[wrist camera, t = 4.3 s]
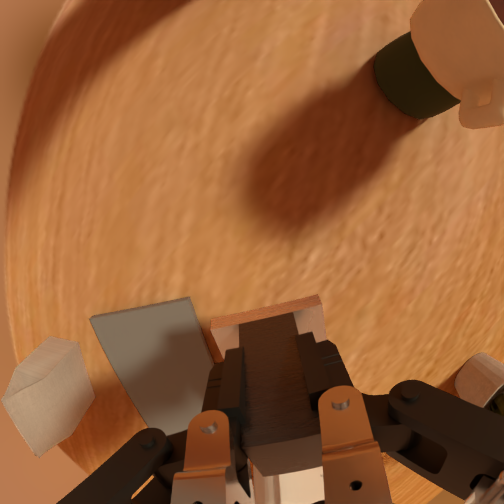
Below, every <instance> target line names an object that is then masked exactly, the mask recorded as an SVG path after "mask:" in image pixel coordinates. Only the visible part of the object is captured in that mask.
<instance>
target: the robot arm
mask: <svg viewBox="0 0 504 504" xmlns="http://www.w3.org/2000/svg"><path fill="white" fill-rule="evenodd" d="M295 338H296V342H297V347H298V351H299V355H300V360H301V364H302V368H303V373H304V377H305V382H306V386H307V391H308V395H309V400H310V404H311V409H312V411H314V410H318V413H319V418H320V428H321V439H322V465H323V481H324V500H321V501H317V502H315V503H312V504H394V503H392V499H391V495H390V490H389V485H388V481H387V476H386V472H385V468H384V463H383V459H382V455H381V452H386V453H387V454H388V455H389V456H391V457H392V458H394V459H395V460H397V461H398V462H400V463H401V464H403V465H404V466H406V467H408V468H409V469H411V470H412V471H414V472H416V473H417V474H419V475H421V476H422V477H424V478H426V479H427V480H429V481H431V482H432V483H434V484H436V485H438V486H439V487H441V488H443V489H445V490H446V491H448V492H450V493H452V494H454V495H456V496H457V497H459V498H461V499H463V500H465V503H464V504H504V416H501V415H499V414H496V413H494V412H491V411H489V410H487V409H484V408H482V407H479V406H477V405H474V404H472V403H470V402H467V401H465V400H463V399H460V398H458V397H456V396H453V395H451V394H449V393H447V392H444V391H442V390H440V389H437V388H435V387H433V386H431V385H429V384H426V383H424V382H422V381H418V380H406V381H403V382H400V383H398V384H396V385H395V386H394V387H393V388H392V389H391V391H390V392H389V394H385V395H367V394H363V393H361V392H360V391H359V390H358V389H356V388H355V387H354V386H353V384H352V381H351V379H350V377H349V374H348V372H347V370H346V368H345V365H344V363H343V361H342V358H341V356H340V355H339V352H338V349H337V347H336V345H335V344H333V343H332V342H330V341H329V340H325V341H321V342H317V343H316V340H315V338H314V335H313V332H312V331H311V332H307V333H303V334H299V335H295ZM206 388H207V389H206V391H205V396H204V401H203V405H202V410H201V413H200V414H198V415H196V416H195V417H194V418H193V419H192V420H191V421H190V423H189V425H188V429H186V430H184V431H181V432H178V433H174V434H171V435H167V436H166V434H165V433H164V432H163V431H162V430H161V429H158V428H146V429H143V430H141V431H139V432H138V433H136V434H135V435H134V436H133V437H132V438H131V439H130V440H129V441H128V442H127V443H125V444H124V445H123V446H122V447H121V448H120V449H119V450H118V451H117V452H116V453H115V454H113V455H112V456H111V457H110V458H109V459H108V460H107V461H106V462H104V463H103V464H102V465H101V466H100V467H99V468H98V469H97V470H95V471H94V472H93V473H92V474H91V475H90V476H89V477H88V478H86V479H85V480H84V481H83V482H82V483H80V484H79V485H78V486H77V487H76V488H75V489H73V490H72V491H71V492H70V493H69V494H67V495H66V496H65V497H64V498H63V499H61V500H60V501H59V502H58V503H56V504H255V499H254V492H253V484H252V475H251V467H250V461H249V459H248V456H247V455H246V454H245V452H244V451H243V449H242V448H241V424H244V423H246V409H245V376H244V347H238V348H232V349H227V350H226V351H225V358H224V362H220V363H216V364H215V365H214V366H213V368H212V369H211V370H210V372H209V376H208V382H207V386H206ZM152 475H153V476H154V478H153V479H152V480H151V481H150V482H149V483H148V484H147V485H146V486H145V487H144V488H143V489H142V490H141V491H140V492H139V493H138V494H137V495H136V496H135V497H134V498H133V499H131V497H132V495H133V494H134V493H135V492H136V491H137V490H138V489H139V488H140V487H141V486H142V485H143V484H144V483H145V482H146V481H147V480H148V479H149V478H150V477H151V476H152Z"/></svg>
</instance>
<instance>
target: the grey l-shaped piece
mask: <svg viewBox="0 0 504 504" xmlns="http://www.w3.org/2000/svg"><path fill="white" fill-rule="evenodd" d="M210 330H211V332H212V335H213V337H214V339H215V341H216V344H217V346H218V348H219V350H220V352H221V355H222V357H223V359H224V358H225V351H226V350H227V349H232V348H238V347H244V376H245V409H246V423H244V424H241V448H242V449H243V451H244V452H245V454H246V455H247V456H248V458H249V459H250V460H251V462H252V463H253V464H254V466H255V467H256V468H257V470H258V471H259V472H260V473H261V475H262V476H263V477H267V476H274V475H281V474H287V473H292V472H298V471H303V470H308V469H312V468H317V467H321V466H323V465H322V439H321V428H320V418H319V413H318V410H314V411H312V409H311V404H310V400H309V395H308V391H307V386H306V382H305V377H304V373H303V368H302V364H301V360H300V355H299V351H298V347H297V342H296V338H295V335H299V334H303V333H307V332H311V331H312V332H313V335H314V338H315V340H316V343H317V342H321V341H325V340H327V339H326V331H325V323H324V315H323V307H322V303H321V301H320V298H319V296H318V294H316V295H313V296H309V297H305V298H301V299H297V300H293V301H289V302H284V303H280V304H276V305H272V306H268V307H263V308H259V309H255V310H250V311H246V312H241V313H236V314H232V315H227V316H222V317H218V318H213V319H211V328H210Z"/></svg>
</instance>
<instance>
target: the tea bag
mask: <svg viewBox="0 0 504 504" xmlns="http://www.w3.org/2000/svg"><path fill="white" fill-rule="evenodd" d="M95 397H96V396H95V394H94V391H93V388H92V385H91V382H90V379H89V376H88V373H87V370H86V367H85V364H84V360H83V357H82V353H81V350H80V346H79V343H78V342H75V341H70V340H65V339H61V338H56V337H52V336H49V337H48V338H47V339H46V340H45V341H44V342H43V343H41V344H40V345H39V346H38V347H37V348H36V349H35V350H34V351H33V352H32V353H31V354H29V355H28V356H27V357H26V358H25V359H24V360H23V361H22V362H21V363H20V364H19V365H18V366H17V367H16V368H15V370H14V373H13V376H12V379H11V381H10V384H9V386H8V388H7V390H6V393H5V395H4V396H3V398H2V399H1V401H2V403H3V405H4V407H5V408H6V410H7V412H8V414H9V415H10V417H11V419H12V421H13V422H14V424H15V426H16V427H17V429H18V430H19V432H20V434H21V435H22V437H23V438H24V440H25V441H26V443H27V444H28V446H29V447H30V449H31V450H32V451H33V453H34V454H35V456H38V457H39V458H40V457H41V456H42V455H43V454H44V453H45V452H46V451H48V450H49V449H50V448H52V447H53V446H55V445H57V444H58V443H60V442H62V441H63V440H65V439H66V438H68V437H69V436H71V435H72V434H73V432H74V431H75V429H76V427H77V426H78V424H79V423H80V421H81V419H82V418H83V416H84V415H85V413H86V411H87V410H88V408H89V407H90V405H91V404H92V402H93V400H94V399H95Z"/></svg>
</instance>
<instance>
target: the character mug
mask: <svg viewBox="0 0 504 504" xmlns="http://www.w3.org/2000/svg"><path fill="white" fill-rule="evenodd" d="M410 28H411V31H410V32H408V33H406V34H404V35H402V36H400V37H398V38H397V39H395V40H394V41H392V42H391V43H389V44H388V45H386V46H385V47H384V48H383V49H381V50H380V51H379V52H377V56H376V60H375V63H374V70H375V74H376V78H377V82H378V85H379V86H380V88H381V89H382V90H383V92H384V93H385V95H386V96H387V98H388V99H389V101H390V102H392V103H393V104H394V105H395V106H397V107H398V108H399V109H400V110H401V111H402V112H404V113H405V114H407V115H410V116H412V117H414V118H417V119H424V118H429V117H433V116H436V115H438V114H440V113H442V112H444V111H446V110H448V109H450V108H452V107H453V106H455V105H457V104H459V103H460V102H461V103H460V109H459V121H460V123H461V125H462V126H463V127H466V128H470V129H479V128H487V127H494V126H501V125H503V124H504V0H423V1H422V2H420V4H419V5H418V7H417V9H416V10H415V12H414V13H413V15H412V17H411V18H410Z"/></svg>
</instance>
